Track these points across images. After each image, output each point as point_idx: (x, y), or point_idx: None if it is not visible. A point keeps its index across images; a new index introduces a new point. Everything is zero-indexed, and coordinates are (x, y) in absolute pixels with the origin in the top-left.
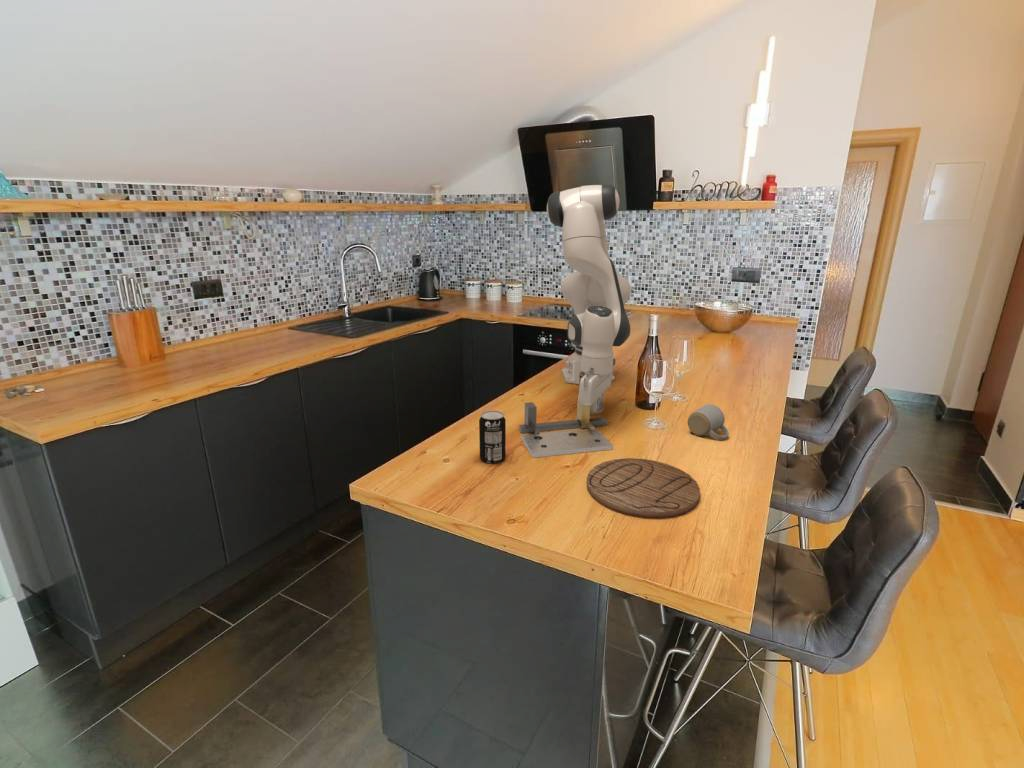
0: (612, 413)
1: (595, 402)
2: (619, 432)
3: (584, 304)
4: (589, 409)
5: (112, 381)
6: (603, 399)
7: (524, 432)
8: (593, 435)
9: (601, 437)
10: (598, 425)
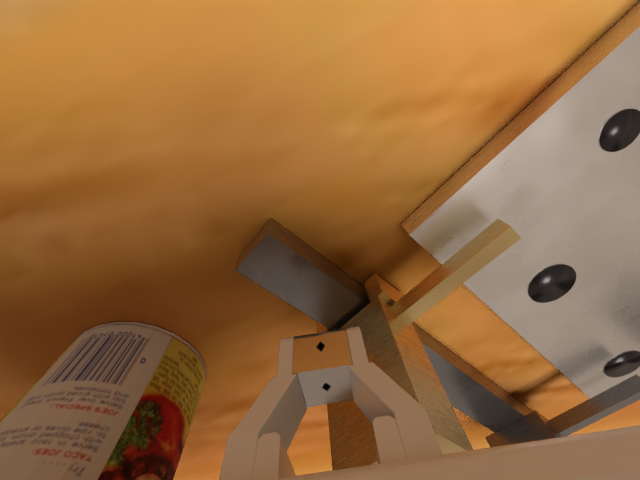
0: (76, 273)
1: (420, 405)
2: (329, 93)
3: None
4: (407, 367)
5: None
6: (31, 389)
7: (532, 411)
8: (534, 193)
9: (552, 134)
10: (312, 251)
